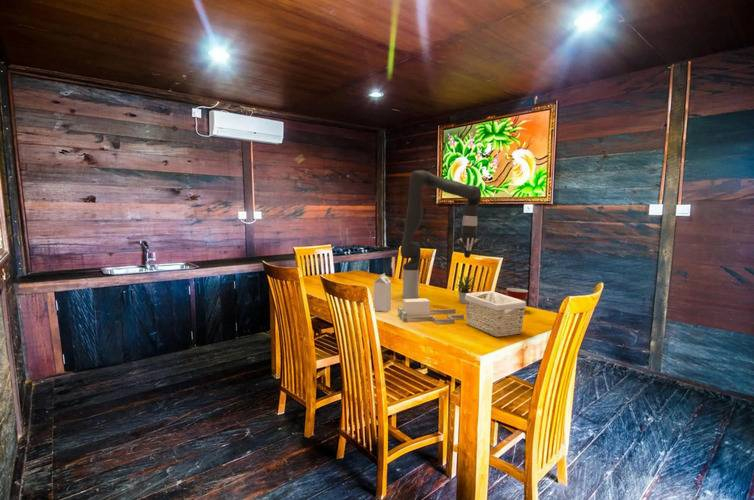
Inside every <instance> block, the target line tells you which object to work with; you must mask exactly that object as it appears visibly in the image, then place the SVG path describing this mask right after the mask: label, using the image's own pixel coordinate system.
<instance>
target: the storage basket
mask: <svg viewBox="0 0 754 500" xmlns="http://www.w3.org/2000/svg"><path fill="white" fill-rule="evenodd" d="M465 300H466V303H465V316H466V317H465V318H466V319H465V320H466V321H465V322H466V323H465V324H467V325H469V326H471V327H473V328H475V329H478V330H479V331H482V332H484V333H487V334H488V335H491V336H494V337H497V338H499V337H508V336H515V335H518V334H521V333H522V330H523V326H524V319H525V318H524V317H525V311H526V308H527V302H526V300H525V301H522V300H519V299H516V298H513V297H509V296H508V295H506V294H502V293H499V292H496V291H493V290H487V291H477V292H471V293H467V294H466V296H465Z"/></svg>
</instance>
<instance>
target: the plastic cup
mask: <svg viewBox="0 0 754 500" xmlns="http://www.w3.org/2000/svg"><path fill="white" fill-rule="evenodd" d="M506 291H507V296H509V297H513V298H516V299H519V300H522V301H525V302H526V298H527V294H528V293H529V290H527V289H522V288H515V287H507V288H506Z"/></svg>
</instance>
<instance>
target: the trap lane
mask: <svg viewBox="0 0 754 500" xmlns="http://www.w3.org/2000/svg"><path fill="white" fill-rule="evenodd" d="M397 309H398V310H397V316H398V317H399V318H400V319H401V320H402V322H403V323H409V322H410V323H411V322H412V323H413V322H416V323H417V322H430V321H432V322H433V323H434V324H435V325H446V324H448V325H449V324H455V323H456V321H457V320H465V314H463V313H462V314H457V313H456V312H457V311H456V309H457V308H446V309H445V308H441V309H430V316H416V317H407V313H406V312H405V311H404V310H403V307H402V306H400V307H397ZM445 314H446V318H437V317H436V316H434V315H445ZM455 320H456V321H455Z"/></svg>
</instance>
